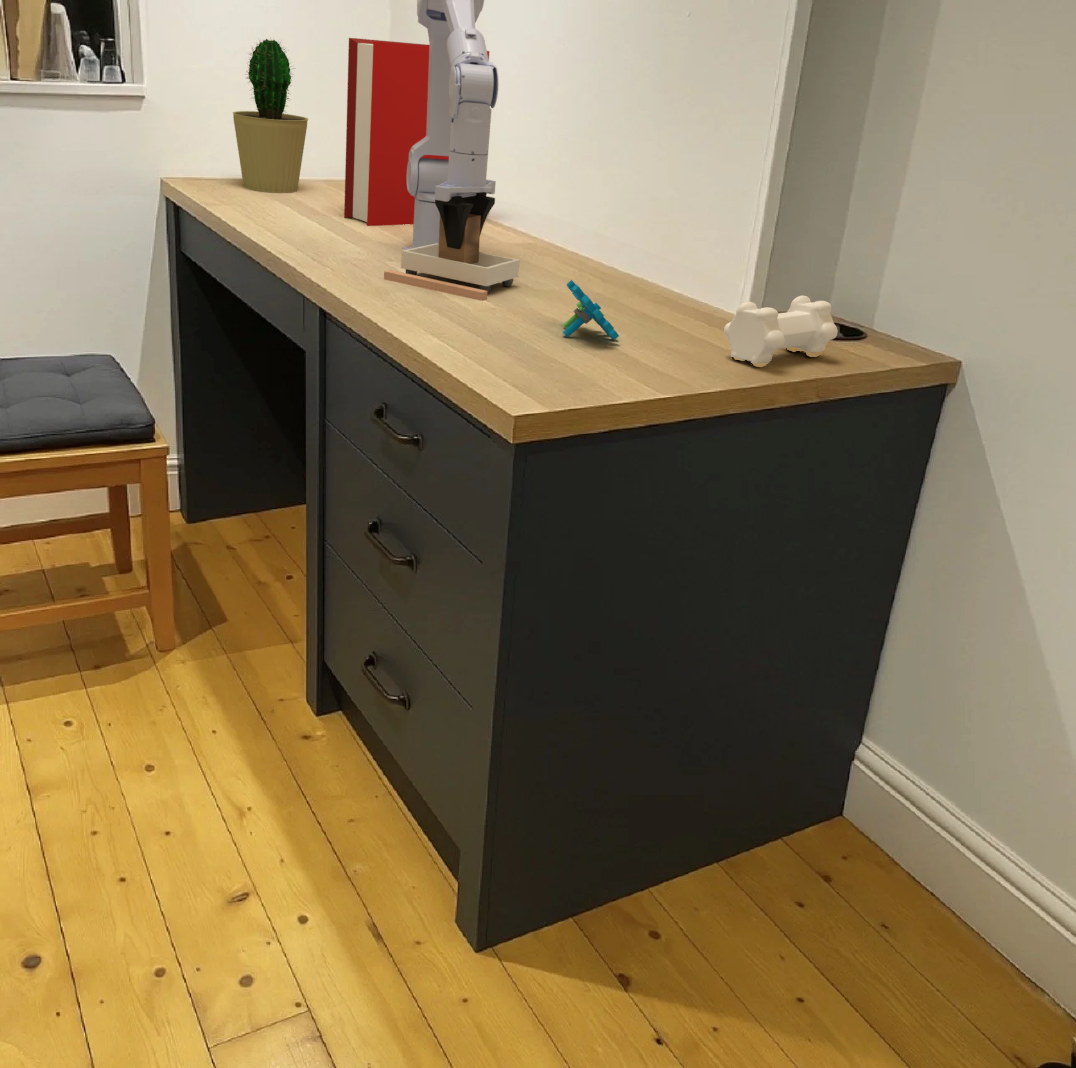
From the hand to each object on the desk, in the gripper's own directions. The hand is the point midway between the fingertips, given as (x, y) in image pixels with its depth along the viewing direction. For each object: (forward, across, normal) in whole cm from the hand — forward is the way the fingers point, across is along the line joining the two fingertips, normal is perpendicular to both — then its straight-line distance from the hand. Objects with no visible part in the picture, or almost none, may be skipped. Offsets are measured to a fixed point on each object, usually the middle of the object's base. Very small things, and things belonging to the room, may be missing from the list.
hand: (462, 245), depth 168 cm
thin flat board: (+6, +4, 0) cm, 7 cm away
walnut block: (+2, 0, 0) cm, 3 cm away
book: (+6, +43, +36) cm, 56 cm away
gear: (+6, -13, -28) cm, 31 cm away
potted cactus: (+6, +47, +75) cm, 89 cm away
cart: (+5, 0, 0) cm, 5 cm away
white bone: (+6, -3, -51) cm, 52 cm away
